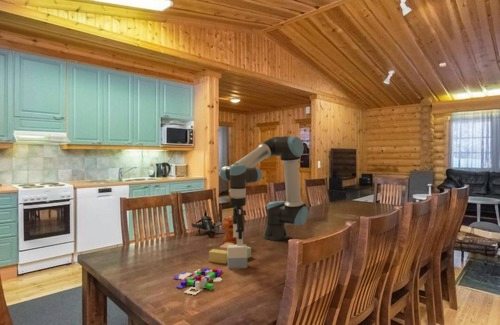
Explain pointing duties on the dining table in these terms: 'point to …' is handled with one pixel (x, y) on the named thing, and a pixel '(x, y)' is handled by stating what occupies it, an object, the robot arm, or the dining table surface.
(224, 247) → the terracotta brick
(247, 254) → the sage brick
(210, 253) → the ochre brick
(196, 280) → the building block set
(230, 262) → the slate brick
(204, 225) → the airplane toy
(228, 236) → the orange lumpy upright piece
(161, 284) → the dining table surface
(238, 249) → the cream brick
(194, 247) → the dining table surface
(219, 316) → the dining table surface
